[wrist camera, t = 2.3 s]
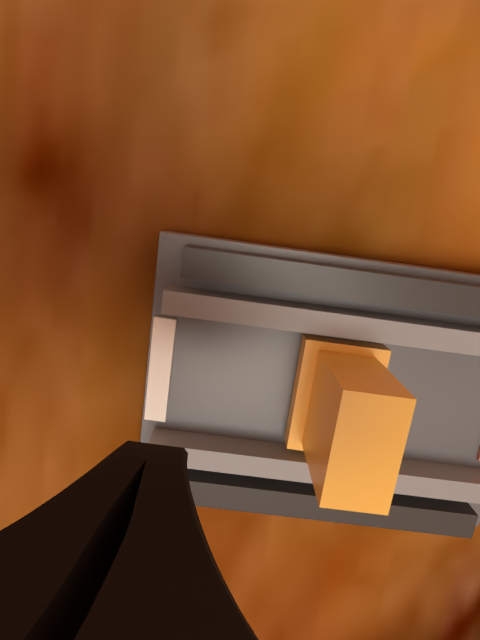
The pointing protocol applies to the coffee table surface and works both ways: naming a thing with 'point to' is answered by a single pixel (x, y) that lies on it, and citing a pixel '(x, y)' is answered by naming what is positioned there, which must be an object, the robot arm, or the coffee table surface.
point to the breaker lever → (349, 422)
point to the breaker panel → (281, 364)
